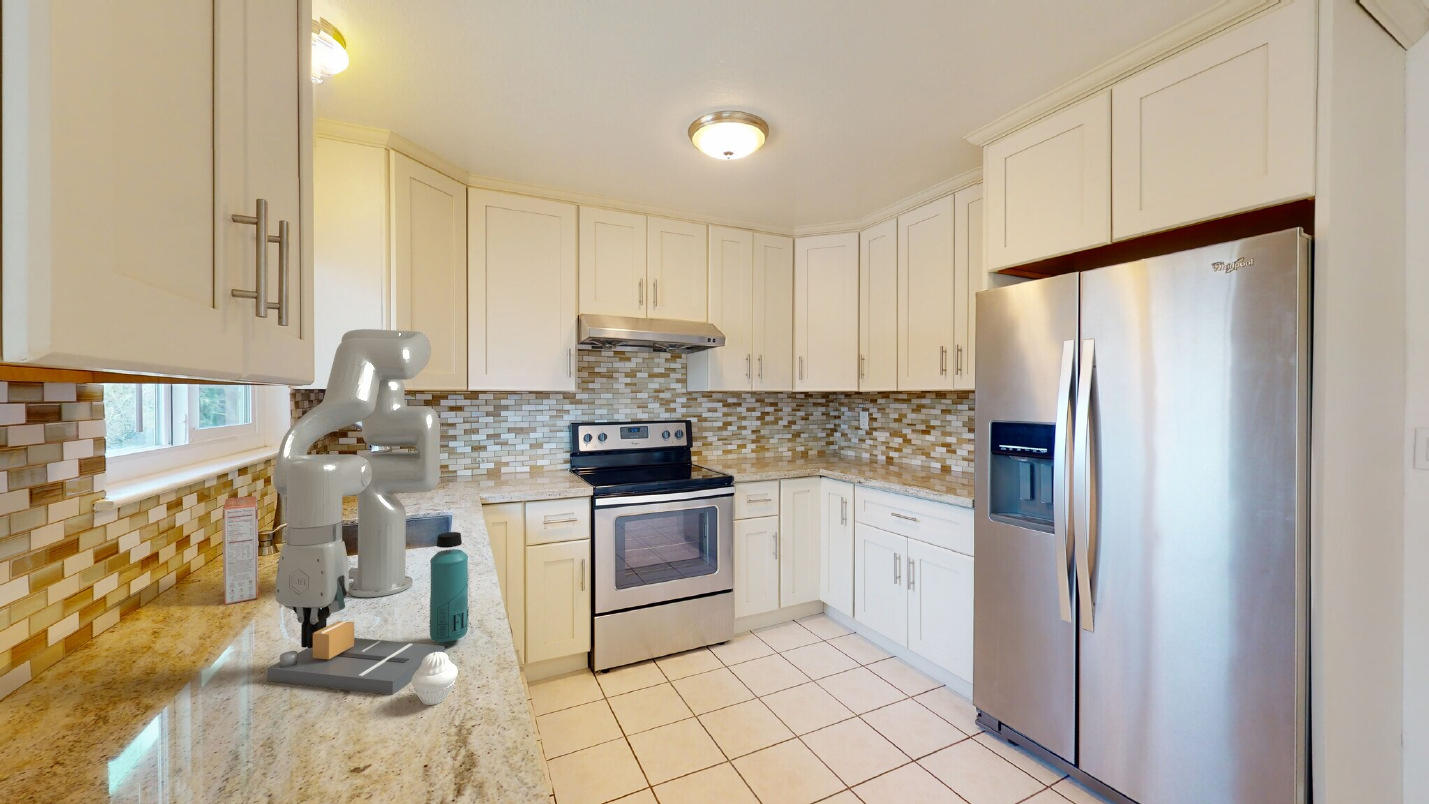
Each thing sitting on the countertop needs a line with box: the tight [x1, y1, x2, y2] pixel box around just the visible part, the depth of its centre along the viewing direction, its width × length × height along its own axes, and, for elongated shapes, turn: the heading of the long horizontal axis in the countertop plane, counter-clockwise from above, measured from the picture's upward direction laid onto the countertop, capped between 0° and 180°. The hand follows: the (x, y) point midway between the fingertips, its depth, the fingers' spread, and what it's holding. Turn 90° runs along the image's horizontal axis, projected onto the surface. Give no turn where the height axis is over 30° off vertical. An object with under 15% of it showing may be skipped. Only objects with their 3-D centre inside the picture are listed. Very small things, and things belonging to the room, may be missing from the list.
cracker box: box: [222, 495, 259, 605], centre depth 123 cm, size 14×6×21 cm, turn 40°
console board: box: [266, 637, 445, 696], centre depth 90 cm, size 22×12×4 cm, turn 81°
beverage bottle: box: [428, 531, 470, 643], centre depth 100 cm, size 6×7×20 cm
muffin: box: [410, 651, 459, 706], centre depth 81 cm, size 6×6×7 cm
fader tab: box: [313, 620, 355, 659], centre depth 91 cm, size 3×5×4 cm, turn 171°
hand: (314, 644), depth 91 cm, fingers closed
